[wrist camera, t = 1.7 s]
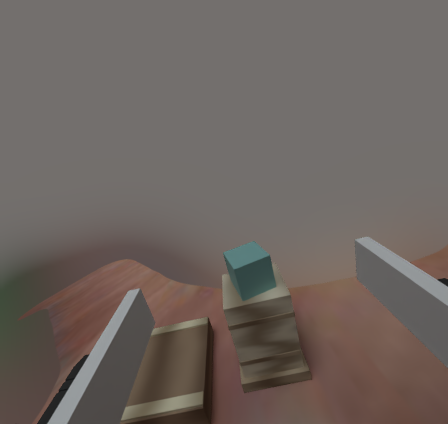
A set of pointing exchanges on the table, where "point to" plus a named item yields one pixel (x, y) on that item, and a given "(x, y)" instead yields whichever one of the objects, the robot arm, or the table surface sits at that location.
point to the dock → (174, 377)
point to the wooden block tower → (265, 336)
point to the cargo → (250, 270)
